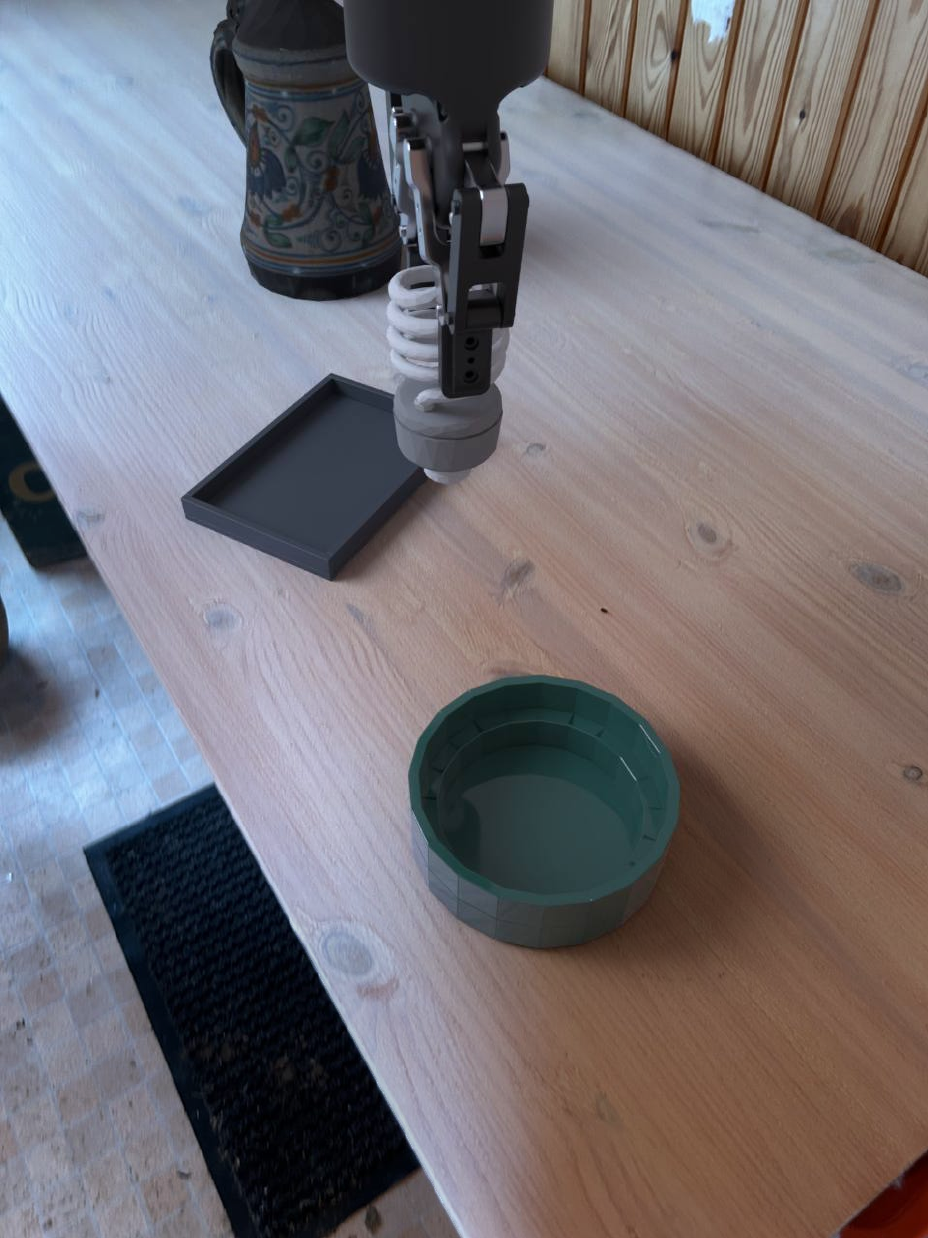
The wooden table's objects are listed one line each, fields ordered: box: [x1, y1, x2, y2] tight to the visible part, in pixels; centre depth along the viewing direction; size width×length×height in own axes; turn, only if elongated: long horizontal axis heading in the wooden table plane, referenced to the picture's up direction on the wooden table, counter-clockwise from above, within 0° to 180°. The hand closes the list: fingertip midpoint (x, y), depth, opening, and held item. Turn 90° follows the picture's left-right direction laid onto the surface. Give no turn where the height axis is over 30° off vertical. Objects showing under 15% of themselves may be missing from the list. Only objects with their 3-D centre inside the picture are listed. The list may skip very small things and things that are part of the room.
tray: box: [180, 372, 430, 582], centre depth 75 cm, size 19×13×2 cm
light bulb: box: [386, 265, 511, 486], centre depth 46 cm, size 6×6×12 cm
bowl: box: [407, 674, 681, 949], centre depth 53 cm, size 14×14×5 cm
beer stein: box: [209, 0, 404, 302], centre depth 90 cm, size 16×19×25 cm
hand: (447, 353), depth 45 cm, fingers closed on light bulb, 5 cm apart
